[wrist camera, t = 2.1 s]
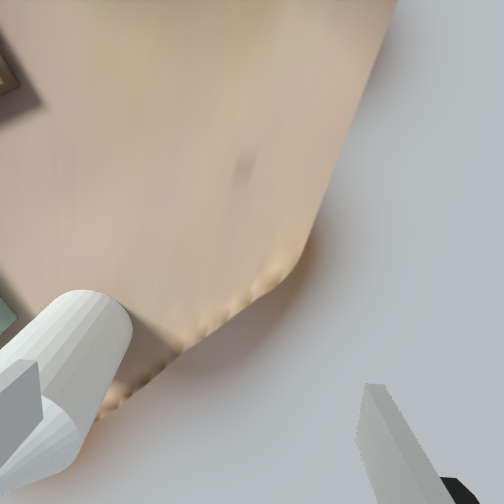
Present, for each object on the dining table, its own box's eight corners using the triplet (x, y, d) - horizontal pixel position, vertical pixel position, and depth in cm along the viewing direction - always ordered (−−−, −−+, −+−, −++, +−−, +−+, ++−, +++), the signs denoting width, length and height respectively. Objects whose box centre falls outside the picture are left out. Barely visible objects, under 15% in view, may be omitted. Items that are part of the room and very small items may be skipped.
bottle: (96, 375, 47) (-47, 625, 24) (25, 323, 43) (-225, 558, 20) (153, 330, 44) (55, 562, 21) (83, 270, 40) (-128, 472, 17)
